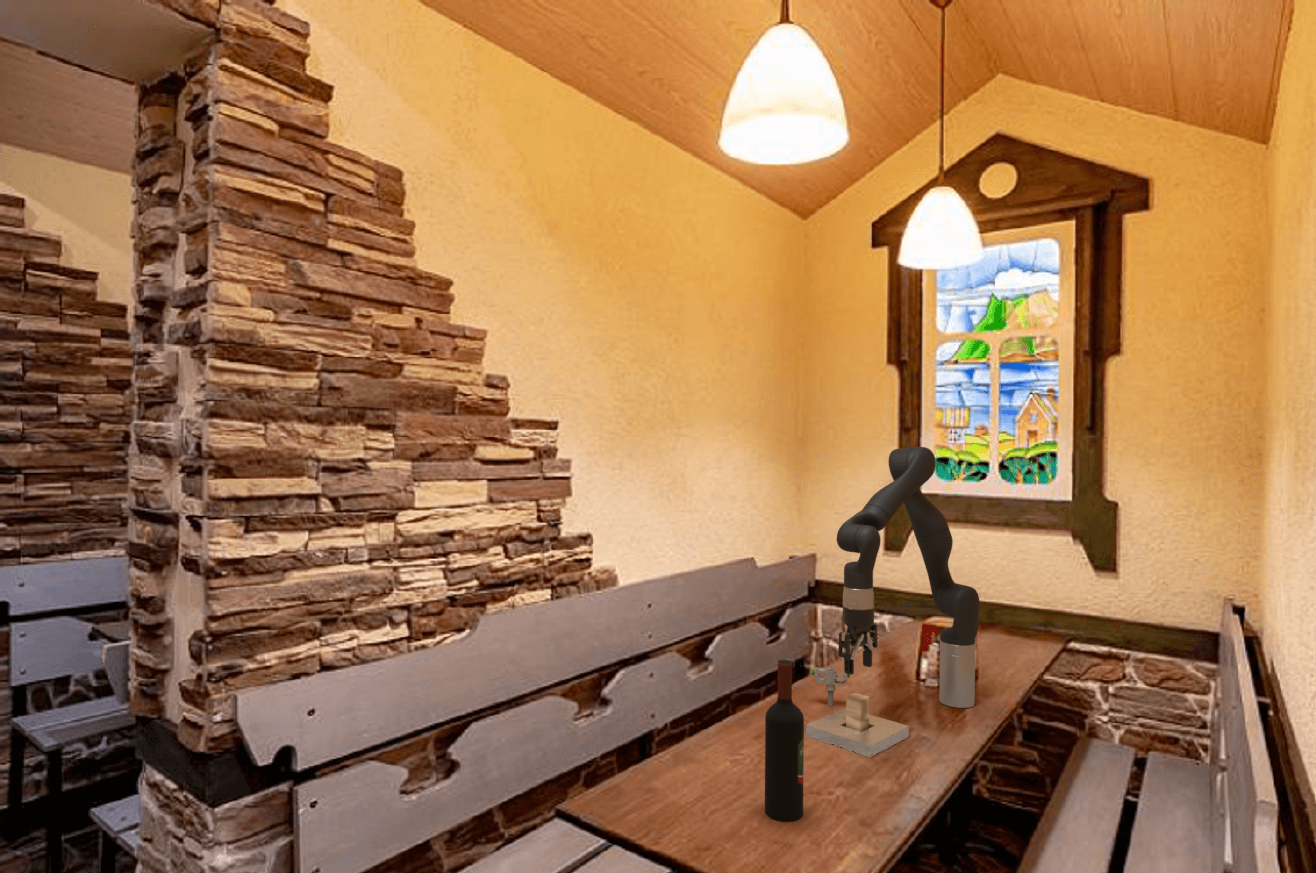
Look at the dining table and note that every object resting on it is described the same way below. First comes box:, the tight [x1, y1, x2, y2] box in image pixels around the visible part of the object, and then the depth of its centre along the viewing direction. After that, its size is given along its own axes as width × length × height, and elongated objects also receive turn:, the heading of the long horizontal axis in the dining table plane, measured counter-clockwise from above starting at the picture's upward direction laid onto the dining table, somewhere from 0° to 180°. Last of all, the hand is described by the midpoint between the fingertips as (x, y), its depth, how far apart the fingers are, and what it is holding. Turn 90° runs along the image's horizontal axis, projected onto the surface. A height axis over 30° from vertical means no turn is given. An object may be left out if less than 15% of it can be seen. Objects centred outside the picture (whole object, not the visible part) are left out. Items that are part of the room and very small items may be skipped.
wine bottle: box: [764, 659, 805, 823], centre depth 157 cm, size 8×8×30 cm
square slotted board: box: [805, 707, 910, 759], centre depth 196 cm, size 18×18×3 cm
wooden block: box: [845, 692, 870, 732], centre depth 196 cm, size 4×4×10 cm
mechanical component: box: [811, 666, 851, 708], centre depth 218 cm, size 3×10×10 cm, turn 78°
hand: (858, 670), depth 196 cm, fingers open, 8 cm apart
